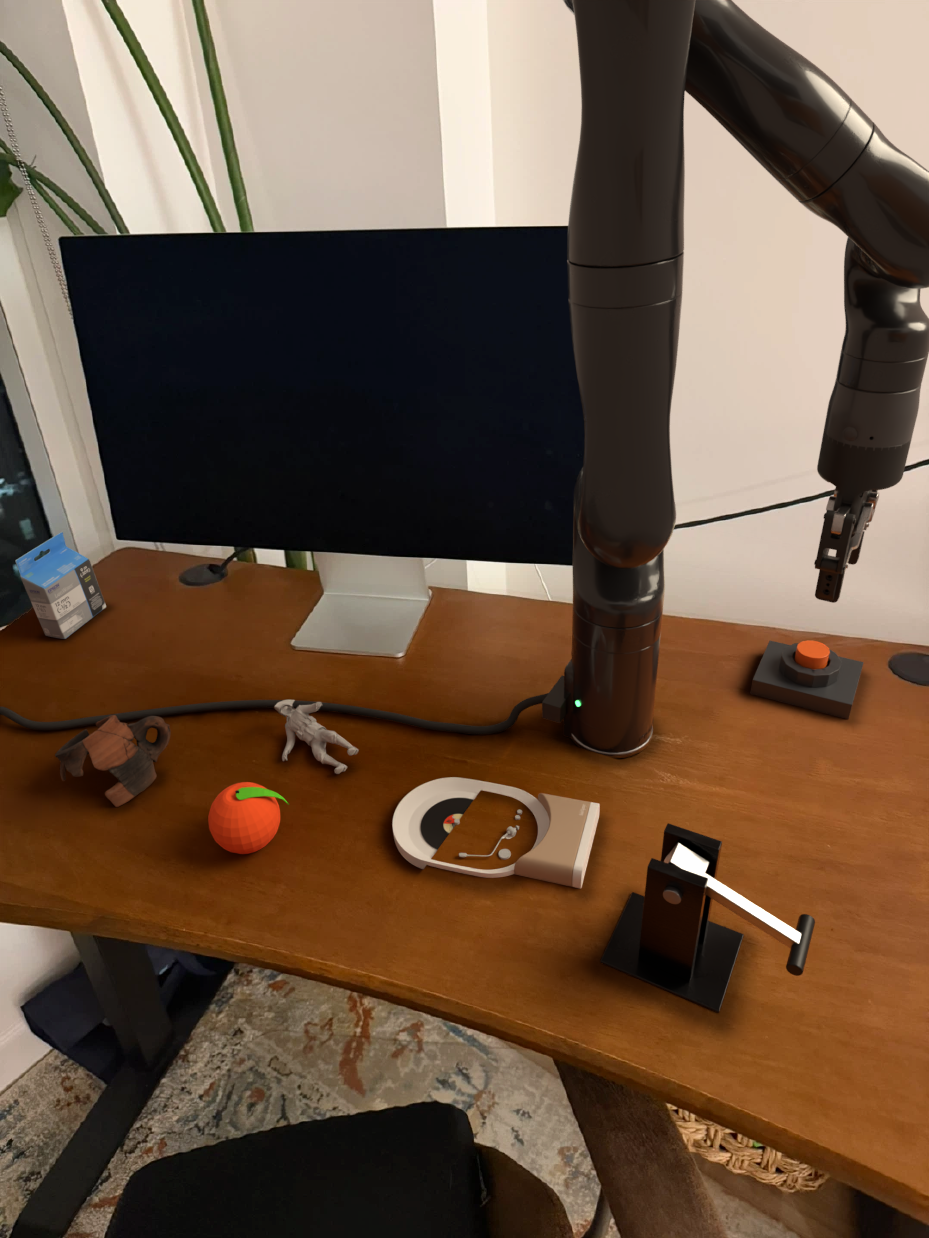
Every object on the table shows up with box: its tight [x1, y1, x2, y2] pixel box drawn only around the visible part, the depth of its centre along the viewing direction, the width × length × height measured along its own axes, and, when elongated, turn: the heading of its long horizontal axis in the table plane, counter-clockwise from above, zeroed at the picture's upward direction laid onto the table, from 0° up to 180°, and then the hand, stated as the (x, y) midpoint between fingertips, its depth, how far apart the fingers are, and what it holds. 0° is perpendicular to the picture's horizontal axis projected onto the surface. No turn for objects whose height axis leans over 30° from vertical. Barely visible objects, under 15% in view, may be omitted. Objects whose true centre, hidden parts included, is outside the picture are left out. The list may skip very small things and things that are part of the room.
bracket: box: [599, 823, 745, 1014], centre depth 69 cm, size 10×8×13 cm
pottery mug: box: [54, 715, 172, 808], centre depth 94 cm, size 12×10×8 cm
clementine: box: [207, 781, 290, 855], centre depth 84 cm, size 8×7×7 cm
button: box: [795, 639, 831, 669], centre depth 100 cm, size 4×4×2 cm
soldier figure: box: [273, 698, 360, 775], centre depth 96 cm, size 8×5×12 cm
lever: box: [664, 843, 816, 977], centre depth 65 cm, size 12×5×2 cm, turn 61°
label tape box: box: [15, 531, 107, 640], centre depth 119 cm, size 9×4×12 cm, turn 159°
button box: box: [750, 640, 865, 720], centre depth 101 cm, size 11×9×4 cm
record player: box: [391, 776, 601, 890], centre depth 84 cm, size 12×3×20 cm
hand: (836, 579), depth 87 cm, fingers open, 8 cm apart
